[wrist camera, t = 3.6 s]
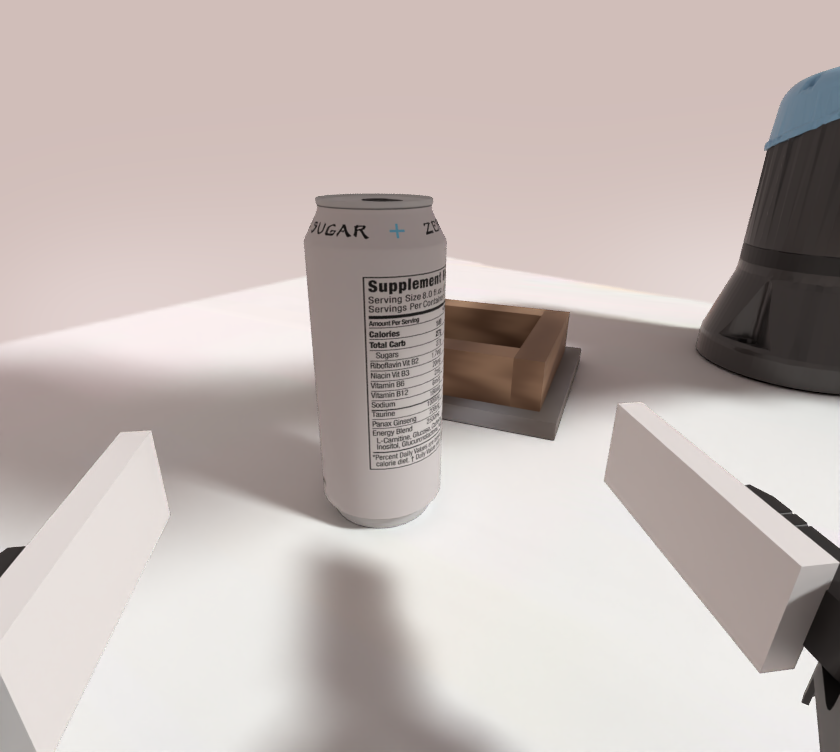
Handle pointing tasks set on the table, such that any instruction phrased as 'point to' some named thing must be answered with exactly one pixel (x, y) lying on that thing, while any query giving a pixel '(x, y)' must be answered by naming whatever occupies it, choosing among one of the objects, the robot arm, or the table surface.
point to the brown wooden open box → (506, 367)
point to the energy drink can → (378, 352)
